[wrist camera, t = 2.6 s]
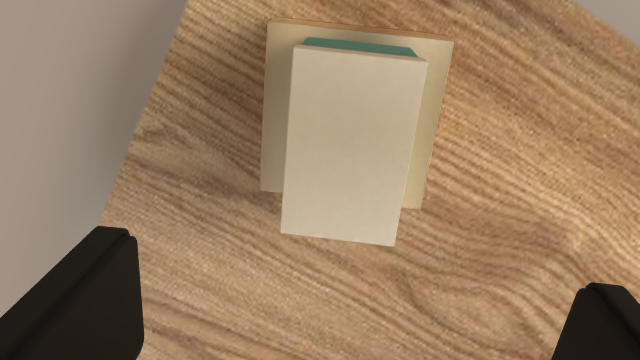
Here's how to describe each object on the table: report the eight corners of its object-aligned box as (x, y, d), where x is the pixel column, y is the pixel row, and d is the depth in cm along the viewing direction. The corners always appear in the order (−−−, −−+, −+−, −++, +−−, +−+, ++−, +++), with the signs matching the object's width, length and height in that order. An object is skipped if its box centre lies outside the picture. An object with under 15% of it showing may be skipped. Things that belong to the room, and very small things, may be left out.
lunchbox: (387, 199, 25) (394, 247, 21) (293, 188, 25) (279, 233, 21) (413, 45, 22) (428, 62, 17) (305, 33, 22) (292, 47, 18)
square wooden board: (268, 170, 28) (258, 190, 26) (276, 16, 25) (266, 21, 22) (414, 187, 28) (420, 210, 25) (444, 34, 25) (455, 41, 22)
